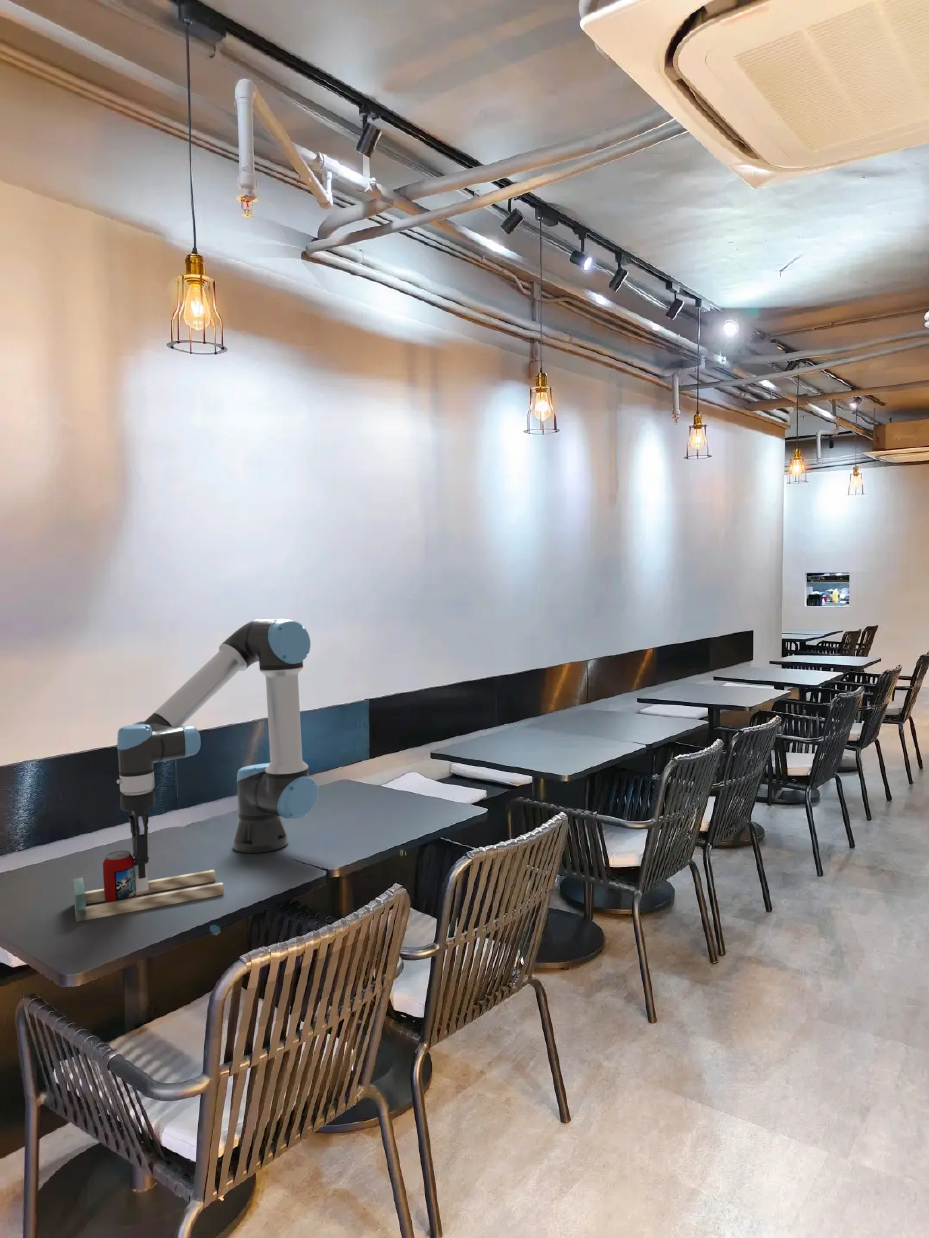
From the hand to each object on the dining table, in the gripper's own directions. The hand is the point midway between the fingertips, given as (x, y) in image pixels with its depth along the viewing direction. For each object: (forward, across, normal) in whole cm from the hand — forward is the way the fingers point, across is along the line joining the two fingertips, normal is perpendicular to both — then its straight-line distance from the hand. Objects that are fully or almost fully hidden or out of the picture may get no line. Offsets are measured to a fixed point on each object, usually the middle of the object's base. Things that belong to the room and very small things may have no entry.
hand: (142, 890), depth 196 cm
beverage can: (+3, 0, -5) cm, 5 cm away
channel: (+3, 0, +2) cm, 3 cm away
